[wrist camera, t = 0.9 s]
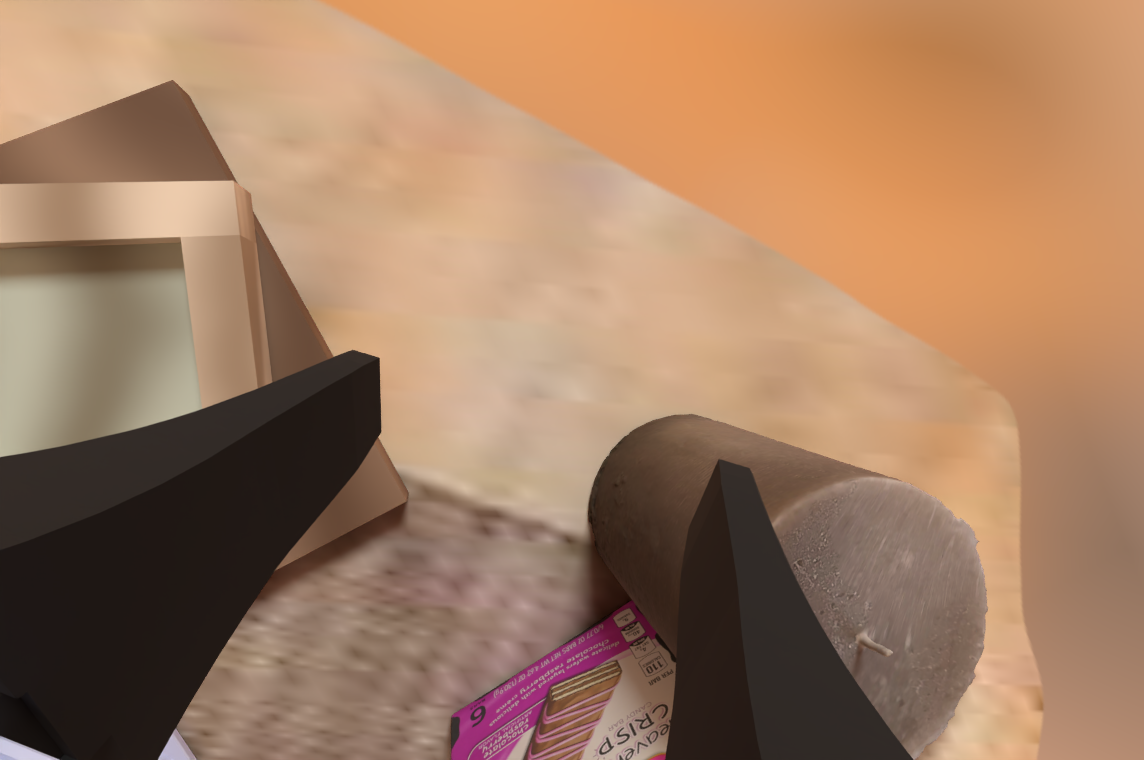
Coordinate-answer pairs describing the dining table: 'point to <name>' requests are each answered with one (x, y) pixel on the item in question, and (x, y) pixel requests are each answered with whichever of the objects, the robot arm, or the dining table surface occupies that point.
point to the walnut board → (188, 153)
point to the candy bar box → (579, 700)
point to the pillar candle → (811, 558)
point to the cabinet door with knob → (124, 307)
